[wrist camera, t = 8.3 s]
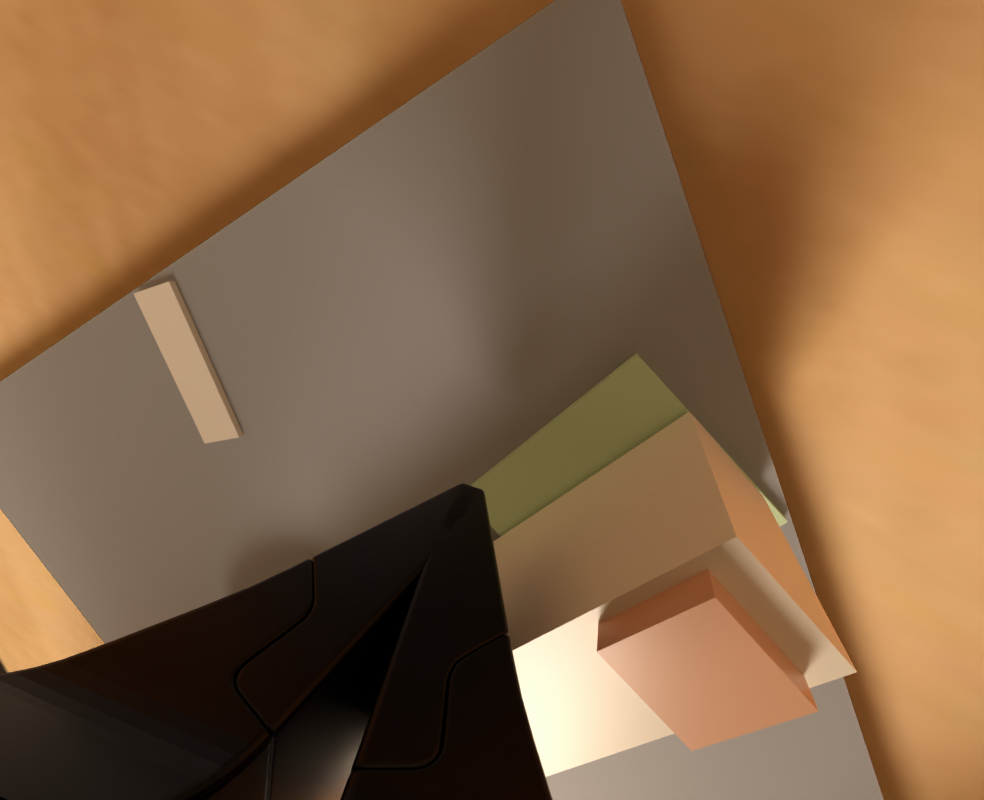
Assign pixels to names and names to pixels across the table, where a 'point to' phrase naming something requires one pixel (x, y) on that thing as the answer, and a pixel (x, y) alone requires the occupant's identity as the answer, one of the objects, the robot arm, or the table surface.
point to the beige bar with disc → (660, 607)
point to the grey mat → (414, 371)
